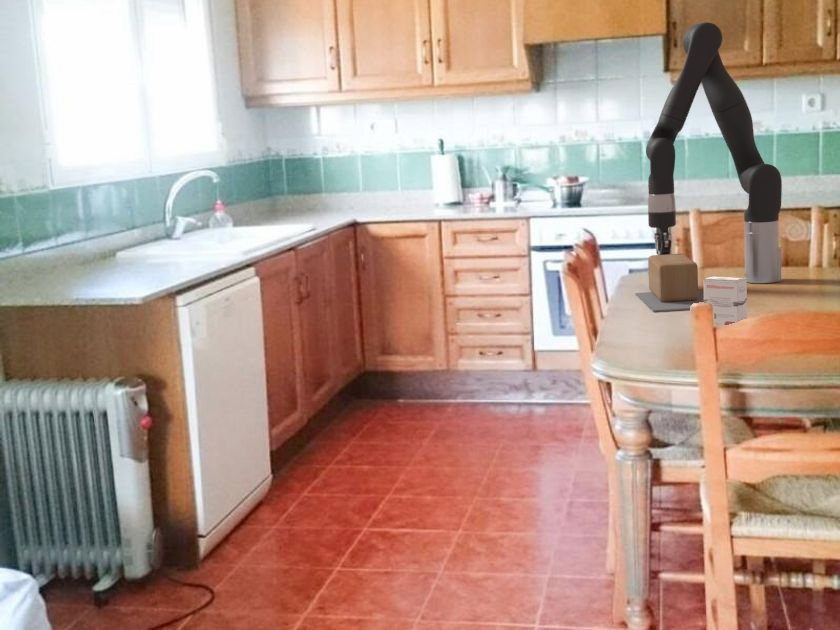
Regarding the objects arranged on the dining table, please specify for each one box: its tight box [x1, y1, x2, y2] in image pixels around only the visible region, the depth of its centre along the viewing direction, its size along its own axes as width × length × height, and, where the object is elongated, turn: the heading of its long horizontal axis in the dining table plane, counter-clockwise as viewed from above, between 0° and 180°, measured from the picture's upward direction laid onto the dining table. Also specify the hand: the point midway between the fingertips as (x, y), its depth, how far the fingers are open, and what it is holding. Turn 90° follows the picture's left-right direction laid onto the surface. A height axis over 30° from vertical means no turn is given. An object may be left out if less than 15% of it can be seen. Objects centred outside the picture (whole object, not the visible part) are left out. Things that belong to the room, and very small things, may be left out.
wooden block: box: [647, 253, 699, 302], centre depth 284 cm, size 10×10×20 cm
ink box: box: [703, 276, 748, 326], centre depth 239 cm, size 9×5×12 cm, turn 48°
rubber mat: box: [634, 289, 704, 313], centre depth 279 cm, size 17×27×1 cm, turn 178°
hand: (663, 270), depth 299 cm, fingers closed
